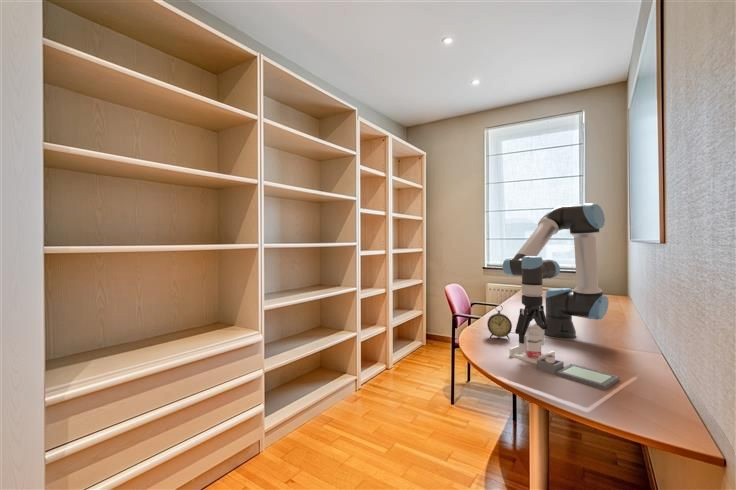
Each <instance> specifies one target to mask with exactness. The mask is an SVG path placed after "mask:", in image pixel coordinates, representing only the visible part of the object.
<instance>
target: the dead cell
mask: <svg viewBox="0 0 736 490" xmlns="http://www.w3.org/2000/svg"><path fill="white" fill-rule="evenodd" d="M555 360H556V356H555V357H554V356H552V355H546V356H545V362H546V363H550V364H553V365H554V364H555Z"/></svg>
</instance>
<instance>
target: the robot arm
mask: <svg viewBox="0 0 736 490" xmlns="http://www.w3.org/2000/svg"><path fill="white" fill-rule="evenodd" d="M605 218H606V217H605V214H604V210H603V209H602V207H601V206H600V205H599V204H598V203H594V202H593V203H591V202H589V203H588V202H587V203H586V202H585V203H578V204H577V203H576V204H568V205H567V204H566V205H565V204H564V205H559V206H556V207H555V208H553V209H551V210H550V211H549V212H547V213H546V214H544V215H543V216H542V217H541V218H540V220H539V221H538V223H537V227H536V229H534V231H533V232H532V234H531V235H530V237H528V239H527V240H526V241H525V243H524V244H523V245H522V246H521V248H520V249H519V250H518V251H517V253H516V254H515V255H514V257H513V258H512V257H511V258H505V260H503V263H502V270H503V273H505V275H508V276H514V277H515V276H516V277H521V286H520V287H521V294H522V295H521V305H523V306H524V308H519V314H518V319H517V323H516V328H515V331H514V332H515V334H516V335H518V346H519V351H522V352H527V335H525V334H526V331H527V329H528V326H529V324H530V323H531V322H532V321H533V320H534V322H535V324H537V325H538V326H539V327H540V328H542V342H541V347H542V346H543V347H544V346H545V335H546V336H549V337H554V338H563V339H564V338H565V339H566V338H567V339H570V338H571V339H572V338H574V337H576V336H577V330H576V328H575V326H574V322H573V317H578V318H583V319H589V320H597V321H598V320H600V321H601V320H602V319H603V318H604V317H605V316H606V314H607V312H608V308H609V302H610V300H609V297H608V296H607V295H605V294H603V289H601V288H600V287H599V276H598V275H599V274H598V273H599V272H598V257H597V238H596V237H597V235H598V234H599V233H600V230H601V229H602V228H603V227H604V226H605V222H606V221H605V220H606V219H605ZM563 230H569V234H570V235H571V236H572V237H573V245H574V259H575V261H574V263H575V265H574V266H575V278H576V279H575V281H576V282H575V283H576V286H575V287H574V288H573V289H572V288H571V287H570V288H569V287H560V288H557V287H555V288H550V289H549V288H548V289H547V290H546V291H545V296H544V297H545V298H544V299H545V308H544V305H543V303H544V301H543V296H542V295H543V294H544V292H543V286H544V285H543V279H546V280H547V279H552V278H555V277H557V276H558V275H560V271H561V267H560V265H559V263H558V262H557V261H556V260H553V259H543V257H542V256H538V255H539V254H540V253H541V251H542V250H543V249H544V247H545V246H546V245H547V243H548V242H549V241H550V239H551V238H552V236H554V235H556V234H558V233H559V231H563Z"/></svg>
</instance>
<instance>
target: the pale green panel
mask: <svg viewBox="0 0 736 490" xmlns="http://www.w3.org/2000/svg"><path fill="white" fill-rule="evenodd" d="M562 372H564V373H567V374H571V375H574V376H578V377H581V378H584V379H588V380H591V381H595V382H598V383H601V384H602V383H604V382H606V381H607V380H609V379H610V378H612V376H609V375H605V374H601V373H598V372H594V371H590V370H587V369H583V368H580V367H576V366H572V367H570V368H568V369H566V370H564V371H562Z"/></svg>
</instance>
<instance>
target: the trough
mask: <svg viewBox="0 0 736 490" xmlns="http://www.w3.org/2000/svg"><path fill="white" fill-rule="evenodd" d="M546 355H552V356H554V357H555V358H556V351H555V350H551V351H548V352H546V353H542V352H541V356H539V358H529V357H528V356H527V355H526V354H525V353H524V352H522V351H519V345H516V346H513V347H510V348H509V356H510V357H511V358H514V359H519V360H521V361H524V362H525V361H526V362H528V363H533V364H536V365H537V360H539V359H542V358H544V357H545V356H546Z"/></svg>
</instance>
